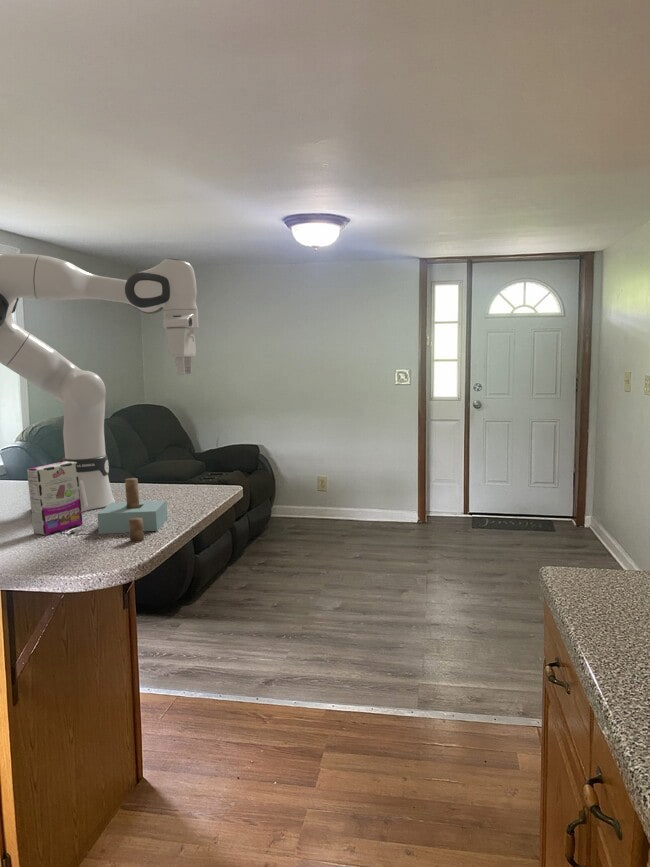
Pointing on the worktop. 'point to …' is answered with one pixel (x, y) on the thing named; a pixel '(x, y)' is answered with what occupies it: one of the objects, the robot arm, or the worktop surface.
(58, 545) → the worktop surface
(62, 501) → the candy bar box
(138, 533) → the short dowel
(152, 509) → the hole block
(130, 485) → the long dowel
